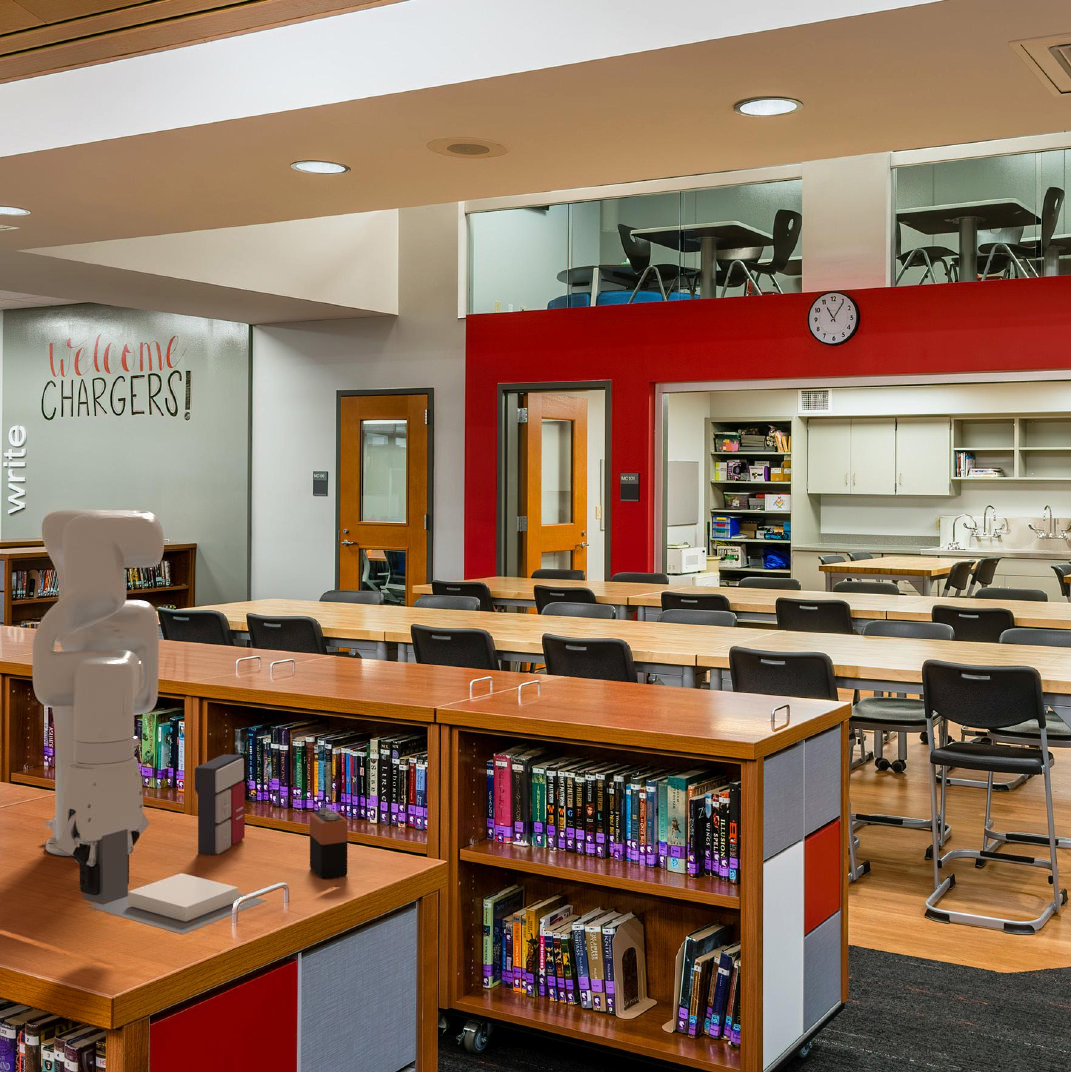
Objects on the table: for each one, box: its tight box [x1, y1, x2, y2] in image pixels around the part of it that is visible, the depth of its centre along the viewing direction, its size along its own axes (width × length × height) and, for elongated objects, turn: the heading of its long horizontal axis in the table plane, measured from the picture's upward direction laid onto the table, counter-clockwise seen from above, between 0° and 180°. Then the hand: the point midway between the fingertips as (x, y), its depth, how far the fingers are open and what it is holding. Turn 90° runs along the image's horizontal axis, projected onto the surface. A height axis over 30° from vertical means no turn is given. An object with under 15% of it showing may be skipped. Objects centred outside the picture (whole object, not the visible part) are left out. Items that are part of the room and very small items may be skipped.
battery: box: [309, 807, 349, 880], centre depth 189 cm, size 4×7×10 cm, turn 28°
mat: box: [86, 892, 267, 935], centre depth 173 cm, size 20×16×1 cm
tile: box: [128, 872, 239, 922], centre depth 172 cm, size 2×10×12 cm
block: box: [82, 829, 129, 905], centre depth 157 cm, size 4×4×9 cm
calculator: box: [194, 753, 246, 856], centre depth 202 cm, size 11×4×15 cm, turn 168°
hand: (104, 886), depth 157 cm, fingers closed on block, 4 cm apart
